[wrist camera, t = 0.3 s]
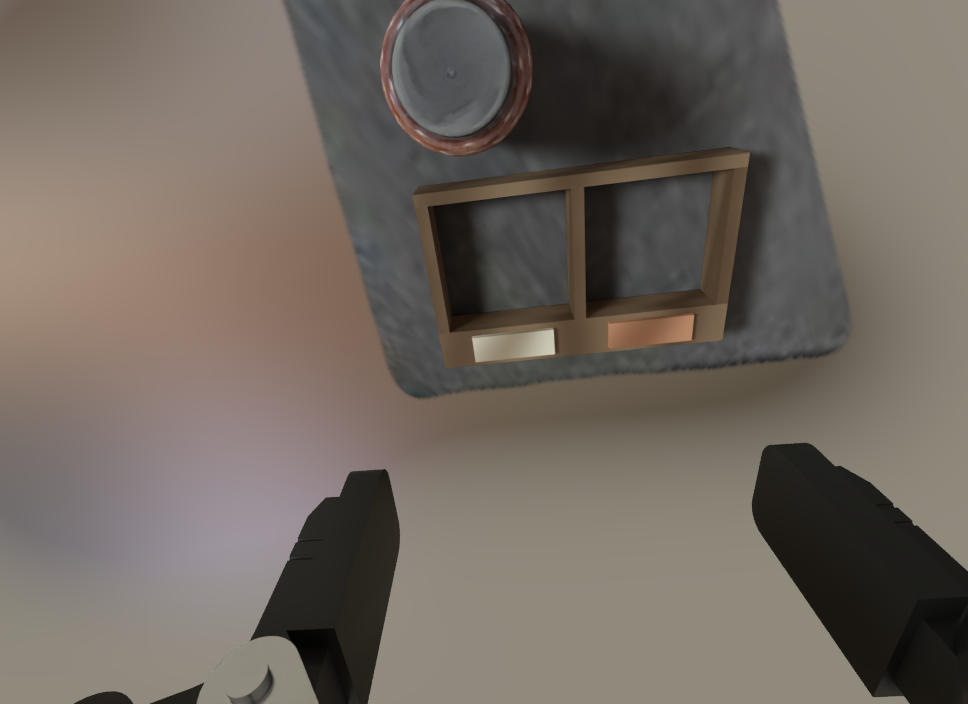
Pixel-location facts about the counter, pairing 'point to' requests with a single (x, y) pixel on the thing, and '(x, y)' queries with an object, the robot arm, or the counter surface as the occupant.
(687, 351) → the counter surface
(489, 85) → the supplement bottle
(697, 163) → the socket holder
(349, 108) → the counter surface
